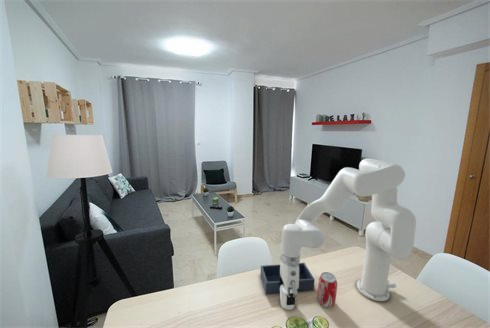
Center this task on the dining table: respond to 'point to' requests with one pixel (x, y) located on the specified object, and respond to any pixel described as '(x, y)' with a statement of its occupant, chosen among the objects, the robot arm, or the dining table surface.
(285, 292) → the white cylinder
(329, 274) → the soda can
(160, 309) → the dining table surface
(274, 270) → the bin
